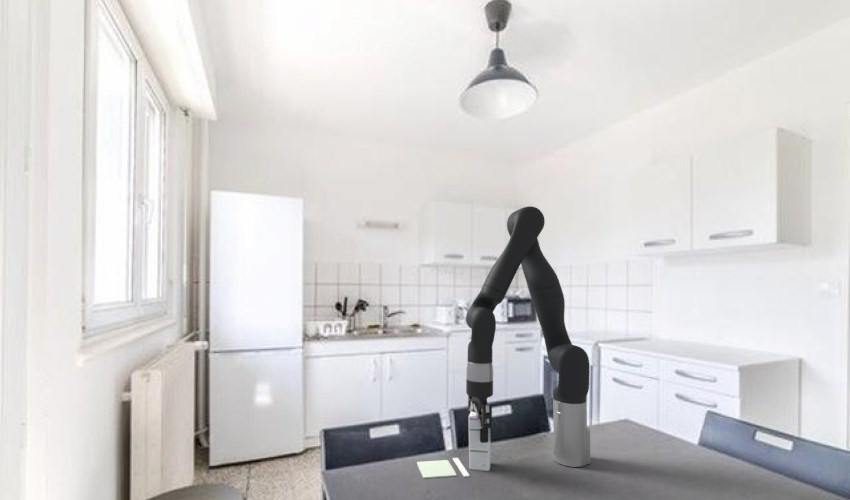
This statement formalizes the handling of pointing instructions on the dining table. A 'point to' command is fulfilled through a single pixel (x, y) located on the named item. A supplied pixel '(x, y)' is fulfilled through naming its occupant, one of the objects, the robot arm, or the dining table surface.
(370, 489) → the dining table surface
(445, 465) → the mat
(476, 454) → the syrup box
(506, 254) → the robot arm
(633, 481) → the dining table surface
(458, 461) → the white line strip
